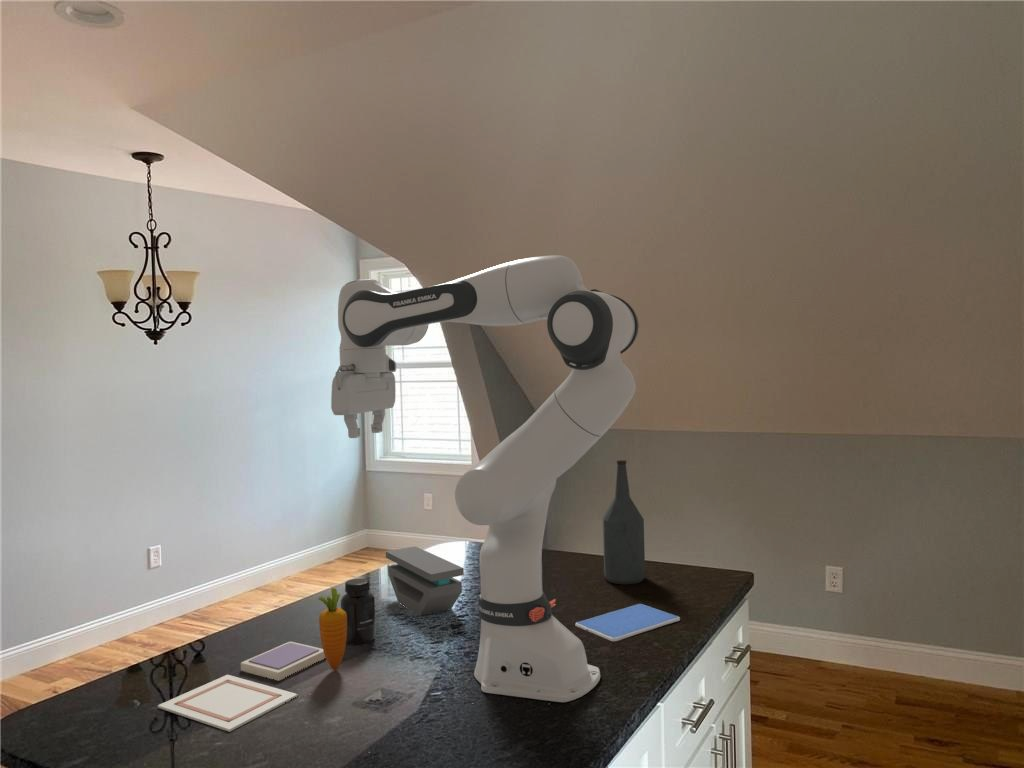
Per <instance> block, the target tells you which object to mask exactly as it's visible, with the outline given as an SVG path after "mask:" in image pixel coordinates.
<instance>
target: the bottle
mask: <svg viewBox="0 0 1024 768" xmlns="http://www.w3.org/2000/svg"><path fill="white" fill-rule="evenodd" d="M628 478H629V477H628V472H627V460H626V459H618V460H616V479H615V493H614V497H613V499H612V501H611V502H610V505H609V506H608V508H607V510H606V511H605V513H604V515H603V516H602V532H603V533H602V537H603V543H602V544H603V574H604V577H605V579H606V581H607V582H608V583H611V584H616V585H617V584H618V585H631V584H633V585H634V584H640V582H642V581H644V580H645V578H646V563H645V562H646V560H645V559H646V558H645V557H646V555H645V522H644V517H643V515H642V514H641V513H640V511H639V510H638V508H637V506H636V504H635V503H634V501H633V500H632V498H631V495H630V487H629V480H628Z"/></svg>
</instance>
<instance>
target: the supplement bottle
mask: <svg viewBox="0 0 1024 768" xmlns="http://www.w3.org/2000/svg"><path fill="white" fill-rule="evenodd" d="M344 585H345V586H344V588H345V589H344V592H345V594H344V595H342V597H341V599H340V608H341V609H342V610H344V611H345V612H346V614H347V639H346V645H350V646H359V645H360V644H361V645H365V643H366V644H368V642H369V643H371V642H372V640H373V639H374V640H375V638H376V608H375V607H376V605H375V603H376V602H375V596H374V594H372V592H371V591H370V581H369V579H367V578H352V579H349V580H348V579H347V580H346V581H345V583H344ZM374 640H373V641H374ZM361 645H360V646H361Z"/></svg>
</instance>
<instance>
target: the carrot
mask: <svg viewBox="0 0 1024 768" xmlns="http://www.w3.org/2000/svg"><path fill="white" fill-rule="evenodd" d="M330 591H331V597H330V595H326V598H325V597H323V596H320V595H319V597H318V600H319V601H321V602H322V603H323V604H324V605H325V606H326V609H324V610H323V611H322V612H321V613H320V614H319V615H318V621H319V623H318V624H319V625H318V626H319V636H320V641H321V646H322V649H323V651H324V655H325V657H326V658H325V659H326V661H327V663H328V665H329V666H330V668H331V669H332V670H333V671H334V672H336V671H337V670H338V669H340V665H341V663H342V661H343V657H344V655H345V652H346V645H347V644H346V639H347V614H346V612H345V611H344V610H342V609H341V607H337V605H338V602H339V598H340V596H341V594H340V593H339V592H338V591H337V588H336V587H332V588H330Z"/></svg>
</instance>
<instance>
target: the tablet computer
mask: <svg viewBox="0 0 1024 768" xmlns="http://www.w3.org/2000/svg"><path fill="white" fill-rule="evenodd" d="M680 620H681V617H680V616H678V615H675V614H672V613H669V612H667V611H663V610H660V609H657V608H654V607H652V606H648V605H645V604H643V603H637V604H634V605H631V606H627V607H624V608H620V609H617V610H614V611H610V612H606V613H604V614H600V615H597V616H594V617H591V618H587V619H583V620H580V621H576V622H575V624H574V625H575V627H577V628H579V629H581V630H584V631H586V632H588V633H591V634H594V635H596V636H598V637H601V638H603V639H605V640H607V641H610V642H619V641H622V640H625V639H627V638H630V637H633V636H637V635H638V634H639V635H641V634H642V633H646V632H648V631H652V630H654V629H657V628H661V627H663V626H666V625H670V624H673V623H677V622H679V621H680Z"/></svg>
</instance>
